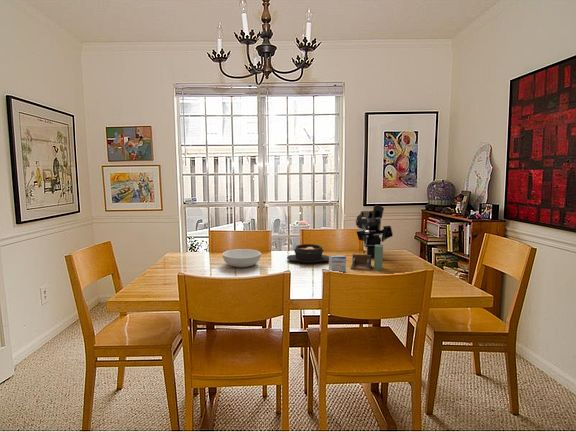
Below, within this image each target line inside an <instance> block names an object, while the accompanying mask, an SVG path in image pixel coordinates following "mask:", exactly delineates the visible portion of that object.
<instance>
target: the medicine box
mask: <svg viewBox="0 0 576 432" xmlns="http://www.w3.org/2000/svg"><path fill="white" fill-rule="evenodd" d="M328 256H329V260H328V271H329V270H332V271H339V272H347V256H346V255H344V254H338V255H337V254H335V255H333V254H332V255H328Z"/></svg>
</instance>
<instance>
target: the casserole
mask: <svg viewBox="0 0 576 432" xmlns="http://www.w3.org/2000/svg"><path fill="white" fill-rule="evenodd" d="M293 251H294V254H290V255H288V256H287V257H286V259H287V260H288V261H293V262H299V263H302V264H315V263H318V262H319V263H320V262H326V261H328V262H329V256H330V255H326V254H323V252H324V249H323V247H322V246H321V245H318V244H315V243H314V244H312V243H306V244H304V243H303V244H298V245H296V246H295V248H294V249H293Z"/></svg>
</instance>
